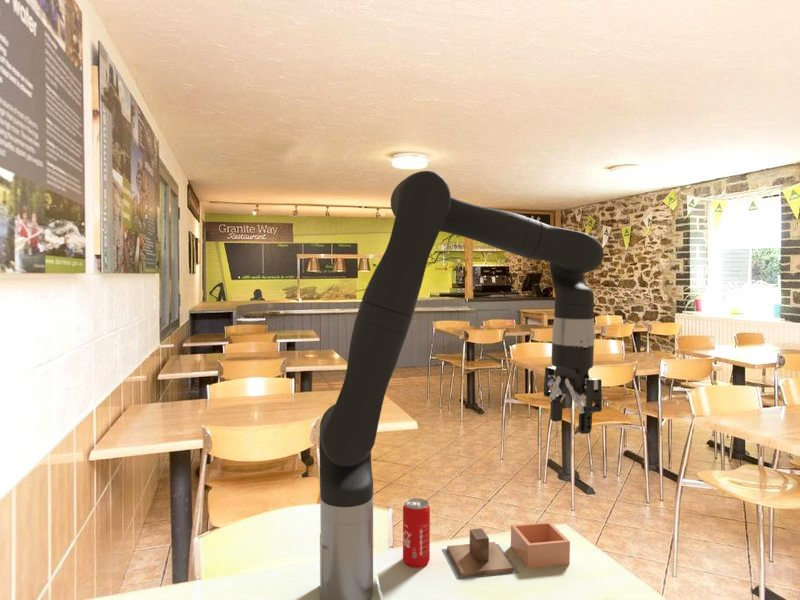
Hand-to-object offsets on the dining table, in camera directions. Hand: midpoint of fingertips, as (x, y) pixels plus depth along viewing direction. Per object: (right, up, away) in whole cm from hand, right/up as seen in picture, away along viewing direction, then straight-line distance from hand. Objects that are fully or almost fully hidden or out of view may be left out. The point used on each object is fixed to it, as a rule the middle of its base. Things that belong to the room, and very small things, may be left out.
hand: (569, 426), depth 103 cm
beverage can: (-29, -27, +2) cm, 40 cm away
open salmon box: (-5, -27, +5) cm, 28 cm away
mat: (-17, -27, +2) cm, 32 cm away
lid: (-17, -27, +2) cm, 32 cm away
